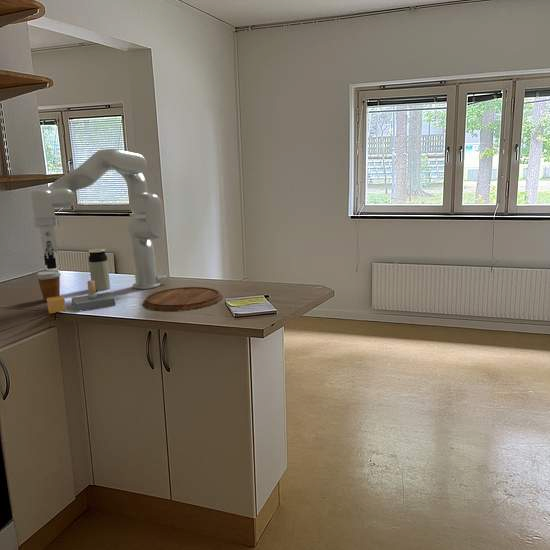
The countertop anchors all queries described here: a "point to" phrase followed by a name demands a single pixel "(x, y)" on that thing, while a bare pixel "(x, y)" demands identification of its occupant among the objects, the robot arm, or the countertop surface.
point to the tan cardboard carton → (56, 304)
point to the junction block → (93, 299)
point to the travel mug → (99, 269)
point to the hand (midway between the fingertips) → (50, 266)
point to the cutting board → (182, 298)
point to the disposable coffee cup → (49, 283)
